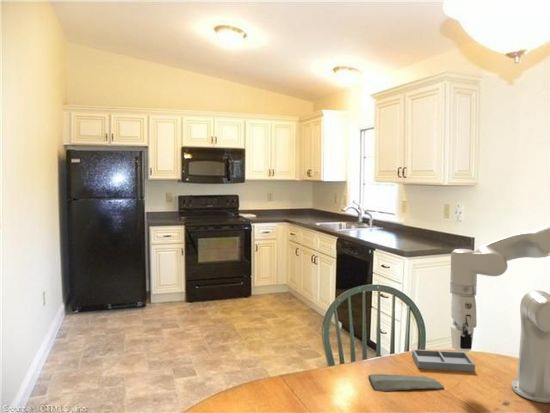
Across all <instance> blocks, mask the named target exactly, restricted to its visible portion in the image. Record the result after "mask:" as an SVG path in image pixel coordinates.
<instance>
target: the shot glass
mask: <svg viewBox="0 0 550 413" xmlns="http://www.w3.org/2000/svg"><path fill="white" fill-rule="evenodd" d="M463 326H467V324H463ZM465 330H467V328H464V332H465ZM474 333H475V328H474V327H473V333H472V342H473V341H474ZM450 334H451V347H452V349H453V350H455V351H457V352H466V353H467V352H471V351H472V348H471V349H461V348H460V336H462V333H461V327H460V326H459V325H458V324H457V323H454V324H453V323H451V324H450Z"/></svg>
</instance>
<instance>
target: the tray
mask: <svg viewBox="0 0 550 413" xmlns="http://www.w3.org/2000/svg"><path fill="white" fill-rule="evenodd" d="M411 351H412V352H411V355H412V358H413V361H414V362H415V365H416V367H417V369H421V370H422V369H425V370H439V371H440V370H443V371H459V372H473V373H474V372H475V370H476V364H475V362H474V361H473V359H471V358H470V356H469V355H468V354H467V352H462V351H451V350H449V351H447V350H434V349H433V350H431V349H416V348H414V349H412V350H411Z"/></svg>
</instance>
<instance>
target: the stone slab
mask: <svg viewBox="0 0 550 413" xmlns="http://www.w3.org/2000/svg"><path fill="white" fill-rule="evenodd" d="M368 380H369V381H370V382H371V385H372V387H373V389H374V391H376V392H383V393H384V392H392V391H403V390H404V391H406V390H407V391H409V390H420V389H421V390H424V389H430V390H431V389H432V390H434V389H437V390H442V389H443V390H444V389H445V387H444V385H443V384H441V382H440V381H437V380H436V379H434V378H430V377H428V376H427V377H426V376H420V375H419V376H417V375H405V374H403V375H402V374H385V373H384V374H383V373H382V374H381V373H379V374H377V373H375V374H374V373H373V374H368Z"/></svg>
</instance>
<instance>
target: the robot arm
mask: <svg viewBox="0 0 550 413" xmlns="http://www.w3.org/2000/svg"><path fill="white" fill-rule="evenodd" d="M549 256H550V223H548V224H546V225H543V226H540V227H538V228H535V229H533V230H530V231H525V232H521V233H519V234H513V235H510V236H506V237H502V238H500V239H497V240H495V241H491V242H488V243H487V244H484V245H481V246H479V248H477V249H476V250H472V249H470V248H469V249H467V248H456V249H453V250H452V251H451V253H450V281H449V282H450V286H449V287H450V288H449V292H450V294H451V305H450V308H451V309H450V314H451V315H450V316H451V318H452V320H453V321H452V324H454V323H457V324H458V325H459V326H460V327H461V333H462V336H460V348H461V349H471V350H472V347H473V341H472V333H473V327H474V329H475V328H477V320H478V319H477V301H476V297H475V296H477V283H478V282H477V281H478V280H477V279H478V278H477V277H478V275H482V276H487V277H499V276H502V275H503V274H505V273H506V272H507V269H508V262H509V261H512V260H516V259H523V258H530V259H531V258H532V259H533V258H534V259H537V258H538V259H540V258H547V257H549ZM519 314H520V316H519V317H520V337H519V338H520V339H519V351H518V352H519V353H518V364H517V366H518V367H517V378H515V379H513V380H512V381H511V389H512V391H513V392H514V393H516V394H518V395H519V396H520V397H523V398H525V399H527V400H531V401H533V402H538V403H545V404H547V403H548V404H550V293H548V292H546V291H543V290H531V291H528V292H527V293H525V294H524V295H523V296H522V298H521V300H520V304H519ZM463 324H467V326H463ZM464 328H467V330H465V332H464ZM473 334H474V333H473Z"/></svg>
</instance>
